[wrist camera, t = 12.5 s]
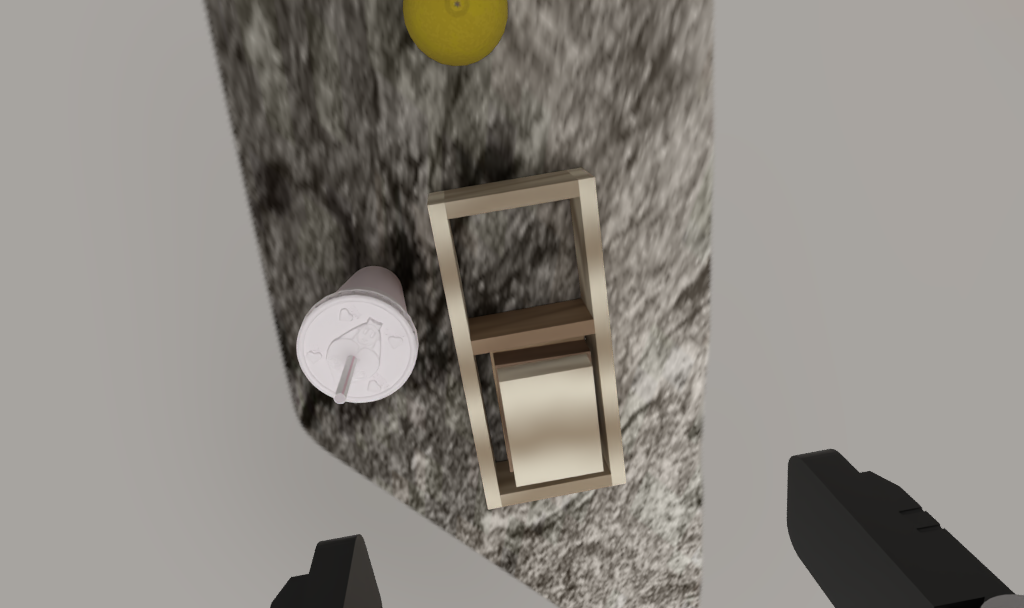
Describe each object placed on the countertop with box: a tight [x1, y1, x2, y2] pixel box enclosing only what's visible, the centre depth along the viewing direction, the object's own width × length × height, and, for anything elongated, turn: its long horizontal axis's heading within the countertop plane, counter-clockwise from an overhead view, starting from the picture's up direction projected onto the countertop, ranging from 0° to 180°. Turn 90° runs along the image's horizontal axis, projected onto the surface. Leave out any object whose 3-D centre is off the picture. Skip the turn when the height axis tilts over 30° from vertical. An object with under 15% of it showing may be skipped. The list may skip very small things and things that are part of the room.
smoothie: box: [297, 266, 419, 404], centre depth 36 cm, size 6×6×14 cm
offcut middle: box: [493, 339, 592, 472], centre depth 45 cm, size 8×6×2 cm
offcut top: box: [497, 353, 604, 487], centre depth 43 cm, size 8×6×2 cm
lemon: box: [403, 0, 508, 66], centre depth 34 cm, size 6×6×8 cm
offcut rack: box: [427, 168, 626, 509], centre depth 43 cm, size 22×10×4 cm, turn 8°
